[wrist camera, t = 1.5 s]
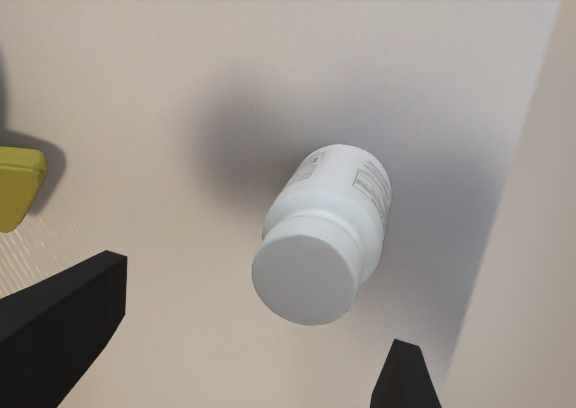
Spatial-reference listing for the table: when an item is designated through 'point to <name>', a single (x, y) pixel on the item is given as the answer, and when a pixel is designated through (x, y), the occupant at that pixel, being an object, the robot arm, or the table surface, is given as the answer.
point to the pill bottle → (323, 235)
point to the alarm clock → (19, 183)
